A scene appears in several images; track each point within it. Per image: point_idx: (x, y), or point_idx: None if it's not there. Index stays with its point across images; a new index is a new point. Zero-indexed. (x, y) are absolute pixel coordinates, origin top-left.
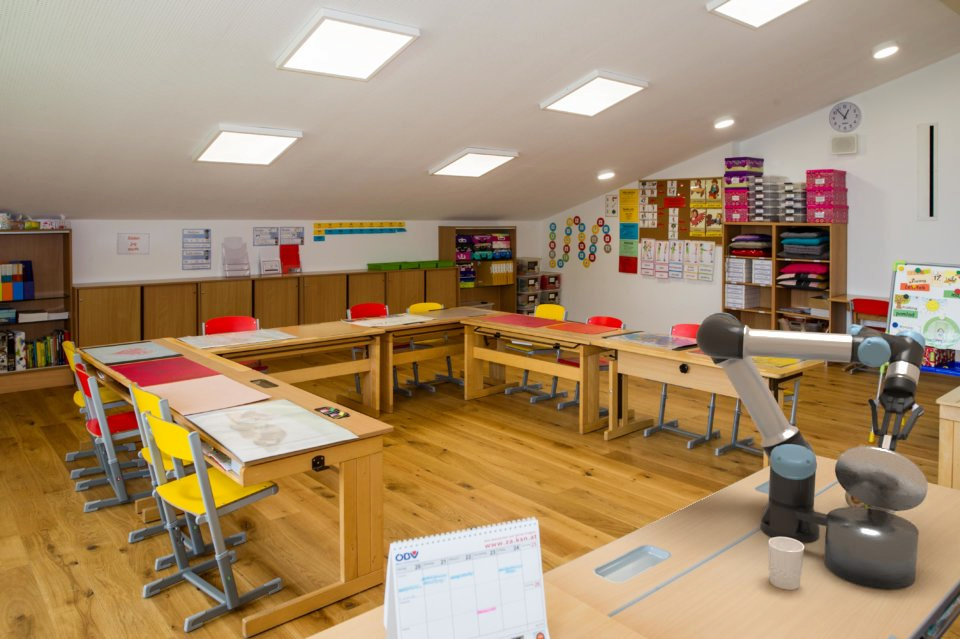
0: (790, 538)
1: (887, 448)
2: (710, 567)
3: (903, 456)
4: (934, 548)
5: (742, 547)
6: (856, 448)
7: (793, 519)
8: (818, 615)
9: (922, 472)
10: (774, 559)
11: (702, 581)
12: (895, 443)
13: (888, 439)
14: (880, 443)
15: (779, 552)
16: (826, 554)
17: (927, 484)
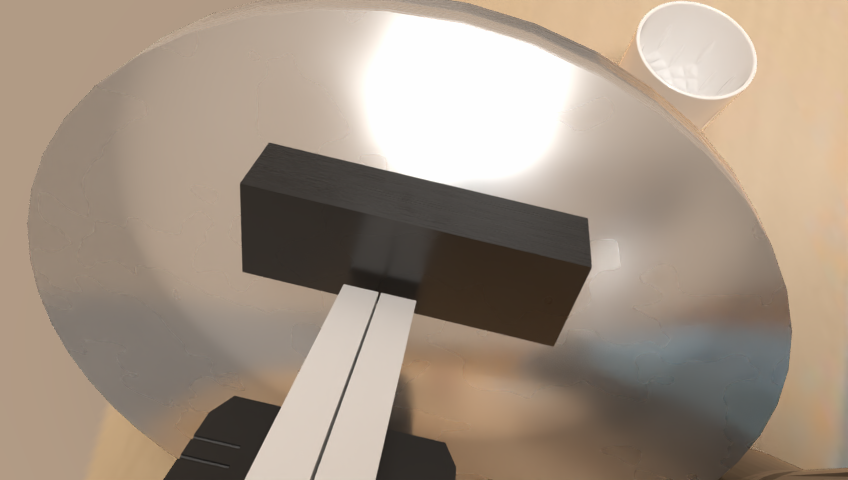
0: (697, 95)
1: (323, 358)
2: (842, 144)
3: (181, 34)
4: None
5: (822, 322)
6: (691, 132)
7: (744, 465)
8: (525, 12)
9: (37, 171)
10: (698, 43)
11: (822, 64)
12: (181, 461)
13: (291, 467)
14: (417, 473)
15: (698, 11)
16: None
17: (34, 272)
